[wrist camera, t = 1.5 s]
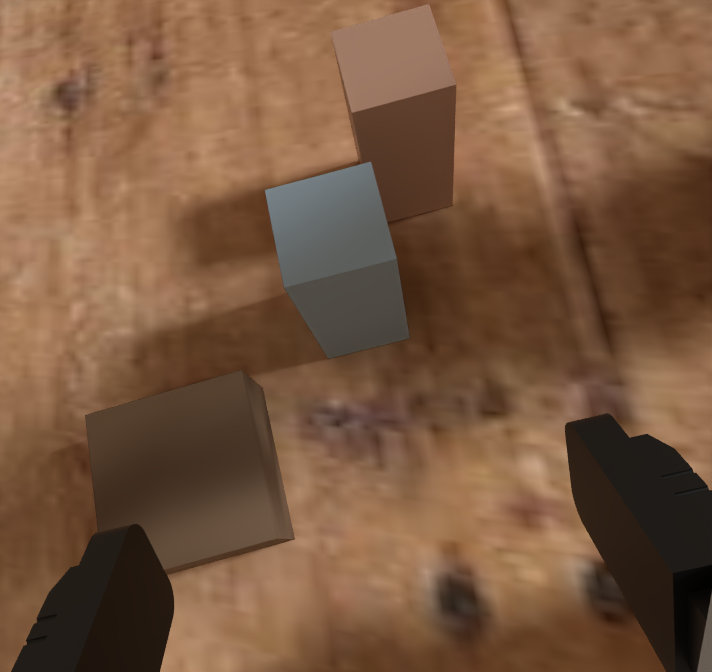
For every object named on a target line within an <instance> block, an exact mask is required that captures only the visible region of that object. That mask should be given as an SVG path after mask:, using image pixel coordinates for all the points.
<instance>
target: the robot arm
mask: <svg viewBox="0 0 712 672" xmlns="http://www.w3.org/2000/svg"><path fill="white" fill-rule="evenodd" d="M565 436H566V445H567V453H568V462H569V471H570V480H571V488H572V494H573V498H574V502H575V505H576V508H577V511H578V514H579V516H580V518H581V521H582V523H583V525H584V526H585V528H586V530H587V532H588V533H589V535H590V537H591V539H592V541H593V542H594V544H595V546H596V548H597V549H598V551H599V553H600V555H601V556H602V558H603V560H604V562H605V564H606V565H607V567H608V569H609V571H610V572H611V574H612V576H613V578H614V580H615V581H616V583H617V585H618V587H619V588H620V590H621V592H622V594H623V595H624V597H625V599H626V601H627V603H628V604H629V606H630V608H631V610H632V611H633V613H634V615H635V617H636V618H637V620H638V622H639V624H640V626H641V627H642V629H643V631H644V633H645V634H646V636H647V638H648V640H649V642H650V643H651V645H652V647H653V649H654V650H655V652H656V654H657V656H658V657H659V659H660V661H661V663H662V665H663V666H664V668H665V670H666V672H712V490H709V489H708V486H707V484H706V483H705V482H704V481H703V480H702V479H701V478H700V477H699V476H698V474H697V473H694V472H693V470H692V468H691V467H690V465H689V464H688V463H687V462H686V461H685V460H684V459H683V458H682V457H681V455H680V454H679V453H678V452H677V451H676V450H675V449H674V448H672V447H671V446H669V445H667V444H665V443H663V442H661V441H659V440H658V439H656V438H654V437H652V436H650V435H648V434H644V435H640V436H636V437H631V438H629V437H628V435H627V434H626V433H625V432H624V430H623V429H622V428H621V427H620V425H619V424H618V423H617V422H616V420H615V419H614V418H613V417H612V416H611V415H610V414H608V413H607V414H602V415H598V416H593V417H589V418H585V419H581V420H577V421H572V422H568V423H566V425H565ZM173 614H174V596H173V590H172V586H171V583H170V581H169V578H168V576H167V574H166V572H165V570H164V569H163V567H162V565H161V563H160V561H159V559H158V557H157V555H156V553H155V551H154V549H153V547H152V545H151V543H150V541H149V539H148V537H147V535H146V533H145V531H144V530H143V528H142V527H141V526H140V525H138V524H131V525H127V526H123V527H118V528H114V529H110V530H106V531H101V532H98V533H95V534H94V535H93V536H92V538H91V540H90V542H89V544H88V546H87V548H86V551H85V553H84V555H83V557H82V560H81V562H80V564H79V566H75V567H71V568H70V569H69V570H68V571H67V572H66V573H65V575H64V576H63V577H62V578H61V579H60V580H59V582H58V583H57V584H56V585H55V586H54V587H53V589H52V590H51V591H50V592H49V594H48V596H47V598H46V600H45V602H44V604H43V606H42V608H41V610H40V612H39V615H38V617H37V623H35V624H34V625H33V627H32V629H31V631H30V633H29V635H28V638H27V640H26V641H27V645H25V646H23V648H22V650H21V652H20V654H19V656H18V658H17V660H16V663H15V665H14V667H13V669H12V671H11V672H160V669H161V665H162V661H163V656H164V652H165V648H166V644H167V640H168V636H169V632H170V628H171V623H172V619H173Z"/></svg>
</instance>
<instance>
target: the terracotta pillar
mask: <svg viewBox="0 0 712 672" xmlns="http://www.w3.org/2000/svg"><path fill="white" fill-rule="evenodd" d="M331 36H332V41H333V46H334V50H335V55H336V59H337V64H338V68H339V73H340V78H341V82H342V87H343V91H344V96H345V100H346V105H347V110H348V114H349V119H350V123H351V128H352V132H353V137H354V142H355V146H356V151H357V155H358V160H359V164H364V163H368V162H371V164H372V168H373V171H374V175H375V179H376V182H377V186H378V190H379V194H380V197H381V201H382V205H383V209H384V212H385V216H386V220H387V222H391V221H395V220H399V219H403V218H406V217H410V216H414V215H418V214H422V213H426V212H430V211H433V210H437V209H441V208H445V207H449V206H452V204H453V172H454V140H455V108H456V82H455V79H454V76H453V74H452V71H451V68H450V65H449V62H448V59H447V56H446V53H445V50H444V47H443V44H442V41H441V38H440V35H439V32H438V29H437V26H436V23H435V20H434V17H433V14H432V11H431V8H430V5H429V4H428V5H424V6H421V7H417V8H414V9H410V10H407V11H403V12H399V13H396V14H392V15H389V16H385V17H381V18H378V19H374V20H371V21H367V22H363V23H360V24H356V25H353V26H349V27H345V28H342V29H338V30H335V31H331Z"/></svg>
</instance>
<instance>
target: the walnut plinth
mask: <svg viewBox="0 0 712 672" xmlns="http://www.w3.org/2000/svg"><path fill="white" fill-rule="evenodd" d="M85 418H86V427H87V436H88V445H89V454H90V463H91V472H92V481H93V490H94V499H95V508H96V517H97V526H98V532H101V531H106V530H110V529H114V528H118V527H123V526H127V525H131V524H138V525H140V526H141V527H142V528H143V530H144V531H145V533H146V535H147V537H148V539H149V541H150V543H151V545H152V547H153V549H154V551H155V553H156V555H157V557H158V559H159V561H160V563H161V565H162V567H163V569H164V570H165V572H166V574H167V575H168V574H171V573H175V572H178V571H182V570H186V569H189V568H193V567H196V566H200V565H204V564H207V563H211V562H214V561H218V560H222V559H225V558H229V557H232V556H236V555H240V554H243V553H247V552H250V551H254V550H258V549H261V548H265V547H268V546H272V545H276V544H279V543H283V542H286V541H290V540H294V539H295V537H294V533H293V528H292V523H291V519H290V514H289V509H288V505H287V500H286V495H285V491H284V486H283V481H282V477H281V472H280V467H279V463H278V458H277V453H276V449H275V444H274V439H273V435H272V430H271V425H270V421H269V416H268V411H267V407H266V402H265V397H264V393H263V388H262V387H261V386H260V385H259V384H258V383H256V382H255V381H254V380H253V379H252V378H251V377H249V376H248V375H247V374H246V373H245V372H244V371H243V370H239V371H236V372H232V373H229V374H225V375H222V376H219V377H215V378H212V379H208V380H205V381H201V382H198V383H194V384H191V385H187V386H184V387H181V388H177V389H174V390H170V391H167V392H163V393H160V394H156V395H153V396H150V397H146V398H143V399H139V400H136V401H132V402H129V403H125V404H122V405H119V406H115V407H112V408H108V409H105V410H101V411H98V412H94V413H91V414H88V415H85Z"/></svg>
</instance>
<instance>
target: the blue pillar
mask: <svg viewBox="0 0 712 672" xmlns="http://www.w3.org/2000/svg"><path fill="white" fill-rule="evenodd" d="M265 194H266V199H267V204H268V209H269V214H270V219H271V224H272V229H273V234H274V240H275V245H276V250H277V255H278V260H279V265H280V270H281V275H282V280H283V286H284V289H285V290H286V292H287V294H288V295H289V297H290V298H291V300H292V302H293V303H294V305H295V306H296V308H297V310H298V311H299V313H300V314H301V316H302V318H303V319H304V321H305V322H306V324H307V326H308V327H309V329H310V330H311V332H312V334H313V335H314V337H315V338H316V340H317V342H318V343H319V345H320V346H321V348H322V350H323V351H324V353H325V354H326V356H327V358H328V359H330V358H334V357H338V356H342V355H346V354H350V353H354V352H358V351H362V350H366V349H370V348H374V347H378V346H382V345H386V344H390V343H394V342H398V341H402V340H406V339H410V337H409V331H408V324H407V318H406V312H405V306H404V300H403V293H402V287H401V281H400V275H399V269H398V263H397V257H396V254H395V250H394V246H393V242H392V239H391V235H390V231H389V227H388V224H387V220H386V216H385V212H384V209H383V205H382V201H381V197H380V194H379V190H378V186H377V182H376V179H375V175H374V171H373V168H372V164H371V162H368V163H364V164H360V165H357V166H353V167H349V168H345V169H342V170H338V171H334V172H330V173H327V174H323V175H319V176H315V177H312V178H308V179H304V180H300V181H297V182H293V183H289V184H285V185H282V186H278V187H274V188H270V189H267V190H265Z"/></svg>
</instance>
